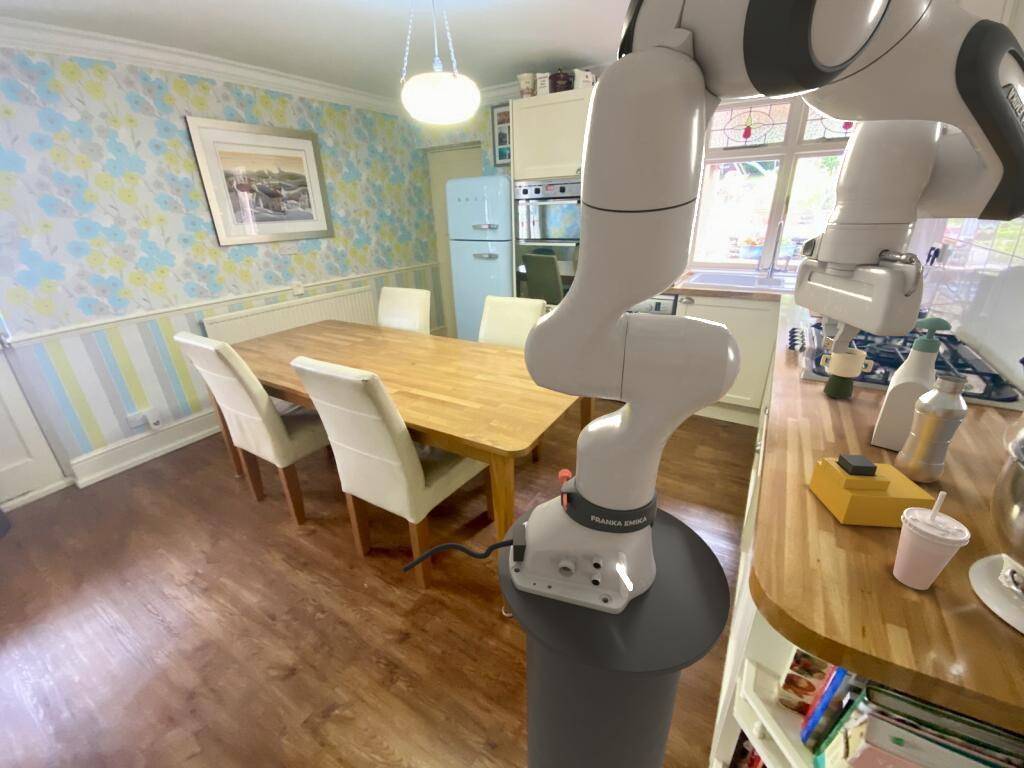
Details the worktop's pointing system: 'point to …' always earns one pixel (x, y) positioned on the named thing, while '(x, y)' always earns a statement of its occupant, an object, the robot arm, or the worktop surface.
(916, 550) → the smoothie
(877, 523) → the stepped yellow pedestal
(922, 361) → the soap bottle
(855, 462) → the block
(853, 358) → the character mug
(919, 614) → the worktop surface
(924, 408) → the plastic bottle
